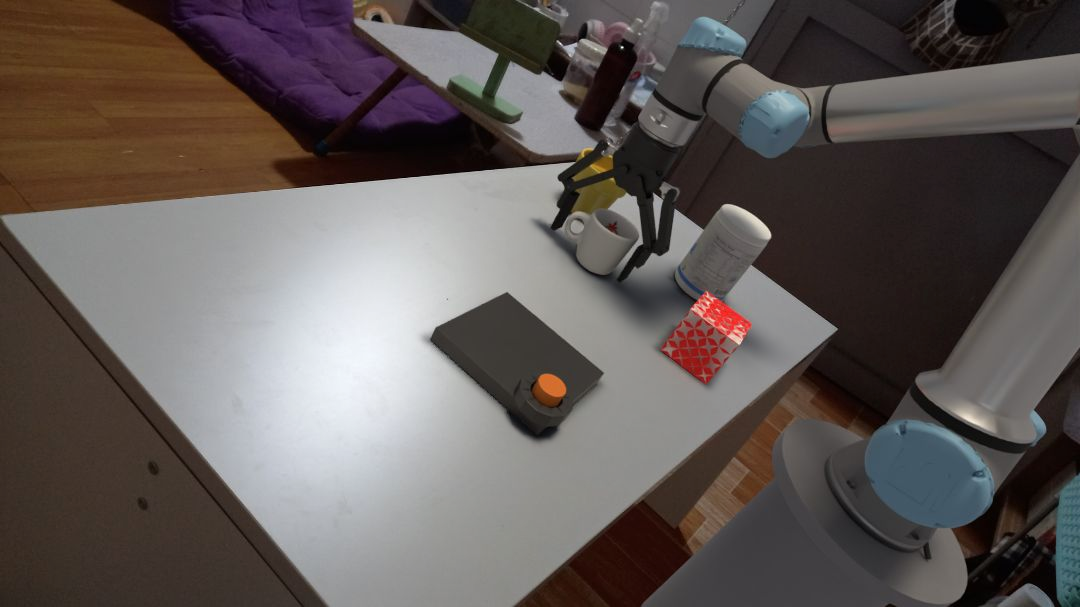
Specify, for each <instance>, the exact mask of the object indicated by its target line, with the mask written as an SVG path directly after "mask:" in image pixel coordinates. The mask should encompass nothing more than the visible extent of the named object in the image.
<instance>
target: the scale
mask: <svg viewBox="0 0 1080 607" xmlns="http://www.w3.org/2000/svg"><path fill="white" fill-rule="evenodd" d="M429 339H430V341H431V342H432V343H433V344H434V345H436V346H437V347H438V348H439V350H441V351H442V352H443V353H445V354H446V355H447V356H448V357H449V358H450V359H451V360H452V361H454V362H455V363H456V364H457V365H458V366H459V367H460V368H461V369H463V371H464V372H466V373H467V374H468V375H469V376H470V377H471V378H473V380H475V381H476V382H477V383H478V385H480V386H481V387H483V388H484V389H485V390H486V391H487V392H488V393H489V394H490V395H492V396H493V397H494V398H495V399H496V400H497V401H498V402H499V403H500V404H501V405H502V406H503V407H505V408H506V409H507V410H508V411H509V412H510V413H512V414H513V415H514V416H515V417H516V418H517V419H518V420H519V421H520V422H521V423H522V424H523V425H525V426H526V427H527V428H528V429H529V430H530V431H531V432H533V433H534V434H535V435H536V436H539V435H540V434H542V433H543V431H544V430H546V429H547V428H548V427H558V426H560V425H561V424H562V423H564V422H565V421H566V420H567V418H568V417H569V416H570V414H571V413H572V411H573V405H574V404H575V403H577V402H578V401H579V400H580V399H581V398H582V397H583V396H585V395H586V394H587V393H588V392H589V391H590V390H592V389H593V388H594V387H595V386H596V385H597V384H598V383H599V382H600V380H601V379H602V378H603V376H604V374H605V372H604V371H603V370H602V369H601V368H599V367H598V366H597V365H596V364H594V363H593V362H592V361H591V360H589V358H588V357H586V356H585V355H584V354H582V353H581V352H580V351H579V350H577V349H576V348H575V347H574V346H573V345H571V344H570V343H569V342H568V341H567V340H565V339H564V338H563V337H562V336H561V335H560V334H558V333H557V331H555V330H554V329H552V328H551V326H549V325H547V324H546V323H545V322H544V321H542V319H540V318H539V317H538V316H537V315H536V314H534V313H533V312H532V311H531V310H530V309H528V308H527V306H525V305H523V304H522V303H521V302H520V301H519V300H517V299H516V298H515V297H514V296H513V295H511V294H510V293H509V292H508V291H506V292H505V293H502V294H500V295H498V296H496V297H494V298H492V299H490V300H488V301H486V302H484V303H482V304H480V305H478V306H476V307H474V308H472V309H470V310H468V311H465V312H464V313H462V314H460V315H458V316H455V317H453V318H451V319H449V320H448V321H446V322H444V323H441V324H440V325H437V326H435V328H434V330H433V332H432V334H431V336H430V338H429ZM543 374H552V375H554V376H556V377H558V378H559V379H560V380H561V381H562V382H563V383H564V384H565V387H566V394H565V395H564V397H563V398H562V400H561V401H560V403H559V404H558V405H557V406H556V407H552V408H551V407H546V406H544V405H541V404H540V403H539V402H538V401H537V400H536V399H535V398H534V397H533V395H532V388H533V386H534V385H535V383H536V382H537V380H538V378H539V377H540V376H541V375H543Z"/></svg>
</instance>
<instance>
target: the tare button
mask: <svg viewBox="0 0 1080 607" xmlns="http://www.w3.org/2000/svg"><path fill="white" fill-rule="evenodd" d="M565 394H566V387H565V384H564V383H563V382H562V381H561V380H560V379H559V378H558V377H556V376H554V375H552V374H543V375H541V376H540V377H539V378H538V380H537V382H536V383H535V385H534V386H533V388H532V395H533V397H534V398H535V399H536V400H537V401H538V402H539V403H540V404H541V405H544V406H546V407H551V408H552V407H556V406H557V405H558V404H559V403H560V401H561V400H562V398H563V397H564V395H565Z"/></svg>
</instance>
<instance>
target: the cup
mask: <svg viewBox="0 0 1080 607" xmlns="http://www.w3.org/2000/svg"><path fill="white" fill-rule="evenodd" d="M576 219H580V220H581V221H582V222H583V229H582V230H581V231H580V232H579V233H576V232H573V231H572V223H573V222H574V220H576ZM564 232H565V235H566V236H567V238H569V239H570V240H572V241H573V242H575V243H576V244H577V247H576V251H575V255H576V260H577V261H578V262H579V264H580V265H581V266H582V267H583V268H584V269H586V270H588V271H589V272H590V273H591V272H592V274H593V273H594V274H596V275H600V276H606V275H609V274H611V273H612V272H614V271H615V269H616V268H617V267H618V266H619V265H620V263H621V262H622V261H623V260H624V258H625V257H626V256H627V254H628V253H629V252H630V251H631V250H632V248H633V247H634V246H635V245H636V244H637V242H638V241H639V239H640V231H639V230H638V228H637V227H636V226H635V225H634V224H633V223H632V222H631V220H629V219H628V218H626V217H625V216H624V215H622V214H620V213H618V212H616V211H613V210H611V209H609V208H608V209H596V210H594V211H593V213H592V214H587V213H585V212H580V211H577V212H574V213H572V212H571V214H569V215H568V217H567V219H566V221H565V223H564Z"/></svg>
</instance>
